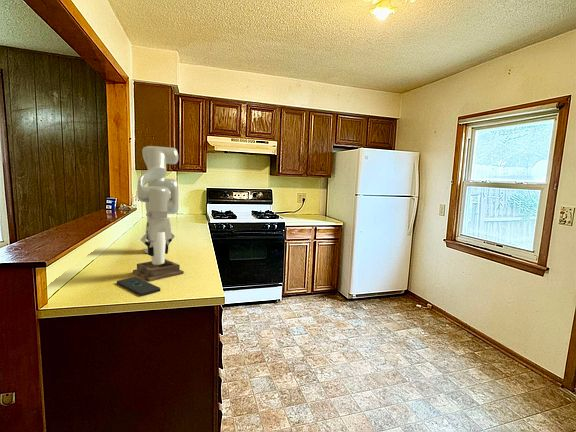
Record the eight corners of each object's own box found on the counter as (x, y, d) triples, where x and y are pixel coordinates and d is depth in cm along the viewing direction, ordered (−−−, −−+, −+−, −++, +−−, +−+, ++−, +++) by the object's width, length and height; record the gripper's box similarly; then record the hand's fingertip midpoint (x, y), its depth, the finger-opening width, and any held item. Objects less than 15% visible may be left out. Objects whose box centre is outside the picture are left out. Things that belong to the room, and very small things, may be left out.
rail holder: (132, 272, 140) (132, 263, 139) (165, 266, 152) (165, 257, 152) (149, 281, 130) (149, 271, 129) (183, 273, 142) (183, 264, 141)
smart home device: (135, 276, 132) (161, 287, 120) (135, 280, 132) (161, 292, 120) (115, 280, 125) (140, 293, 114) (115, 284, 125) (140, 298, 114)
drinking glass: (160, 266, 136) (160, 233, 134) (146, 265, 138) (146, 232, 136) (169, 262, 143) (168, 230, 141) (156, 261, 144) (155, 229, 142)
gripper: (142, 217, 129) (143, 259, 131) (180, 215, 142) (180, 253, 144) (134, 215, 133) (135, 255, 136) (171, 213, 147) (171, 250, 149)
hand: (158, 254), depth 140 cm, fingers closed on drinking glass, 6 cm apart
